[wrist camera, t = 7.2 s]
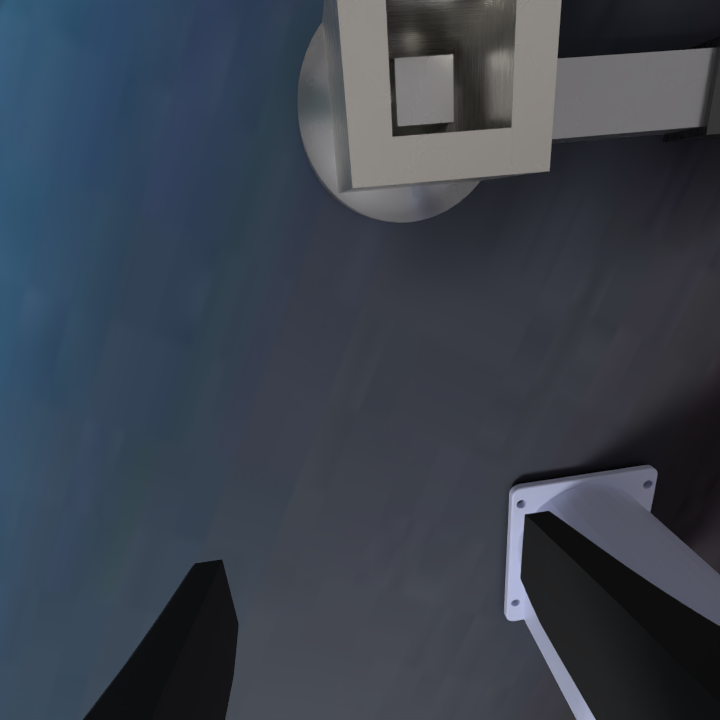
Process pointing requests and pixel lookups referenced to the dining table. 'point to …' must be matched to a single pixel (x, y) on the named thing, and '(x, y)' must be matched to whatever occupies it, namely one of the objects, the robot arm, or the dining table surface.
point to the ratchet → (570, 120)
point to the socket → (470, 89)
